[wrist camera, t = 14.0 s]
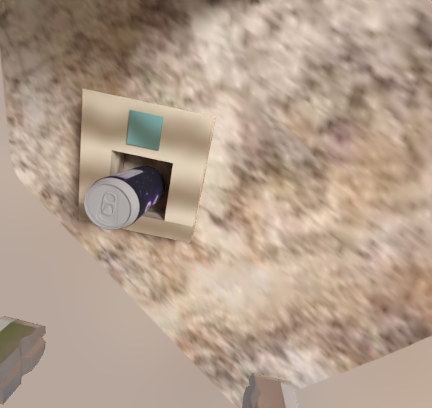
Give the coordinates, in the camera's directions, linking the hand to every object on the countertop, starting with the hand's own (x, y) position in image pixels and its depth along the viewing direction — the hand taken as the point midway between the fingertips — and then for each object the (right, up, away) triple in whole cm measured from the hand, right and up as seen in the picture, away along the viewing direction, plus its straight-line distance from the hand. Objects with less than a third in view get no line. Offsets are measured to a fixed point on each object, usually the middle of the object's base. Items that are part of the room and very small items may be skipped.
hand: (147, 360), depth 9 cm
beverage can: (-7, +9, +26) cm, 28 cm away
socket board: (-7, +11, +25) cm, 28 cm away
